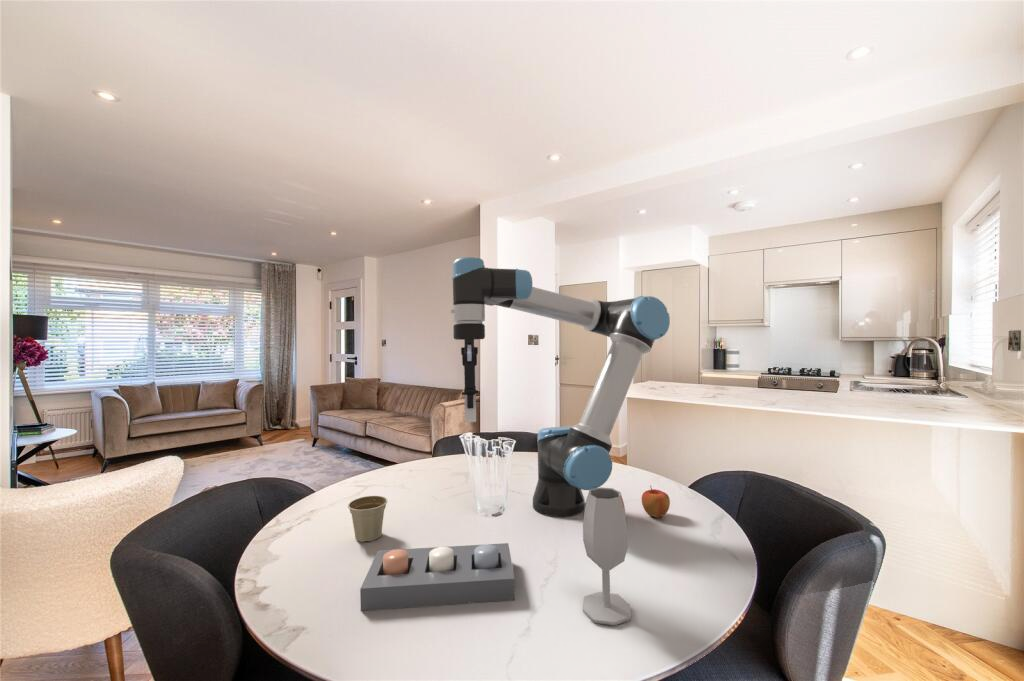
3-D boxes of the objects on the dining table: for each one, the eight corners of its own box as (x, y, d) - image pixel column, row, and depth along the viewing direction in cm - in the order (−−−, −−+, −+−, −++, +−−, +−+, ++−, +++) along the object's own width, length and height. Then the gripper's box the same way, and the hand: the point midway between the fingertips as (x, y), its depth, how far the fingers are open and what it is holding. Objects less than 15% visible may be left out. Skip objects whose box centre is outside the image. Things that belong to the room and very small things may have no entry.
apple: (661, 524, 110) (660, 493, 110) (636, 516, 115) (636, 486, 115) (675, 516, 115) (674, 487, 115) (650, 508, 120) (650, 480, 120)
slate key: (497, 562, 88) (497, 543, 88) (499, 575, 83) (498, 555, 83) (474, 564, 87) (474, 545, 87) (474, 577, 82) (474, 556, 82)
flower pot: (375, 547, 100) (375, 510, 100) (340, 544, 102) (339, 508, 102) (394, 530, 109) (394, 496, 109) (361, 527, 111) (361, 494, 111)
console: (508, 561, 92) (508, 543, 92) (514, 600, 78) (514, 578, 78) (378, 569, 90) (378, 550, 90) (360, 610, 76) (360, 588, 76)
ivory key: (454, 565, 87) (454, 546, 87) (453, 578, 82) (452, 558, 82) (430, 567, 86) (430, 547, 86) (428, 580, 82) (427, 559, 82)
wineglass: (576, 597, 79) (574, 485, 79) (621, 594, 80) (620, 483, 80) (589, 629, 70) (587, 503, 70) (639, 625, 71) (637, 501, 71)
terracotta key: (410, 568, 86) (409, 548, 86) (406, 581, 81) (405, 560, 81) (386, 569, 86) (385, 550, 86) (380, 583, 81) (380, 562, 81)
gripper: (454, 324, 107) (456, 417, 107) (451, 321, 94) (453, 427, 94) (484, 324, 108) (485, 416, 108) (485, 321, 95) (487, 426, 95)
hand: (470, 421), depth 101 cm, fingers closed
